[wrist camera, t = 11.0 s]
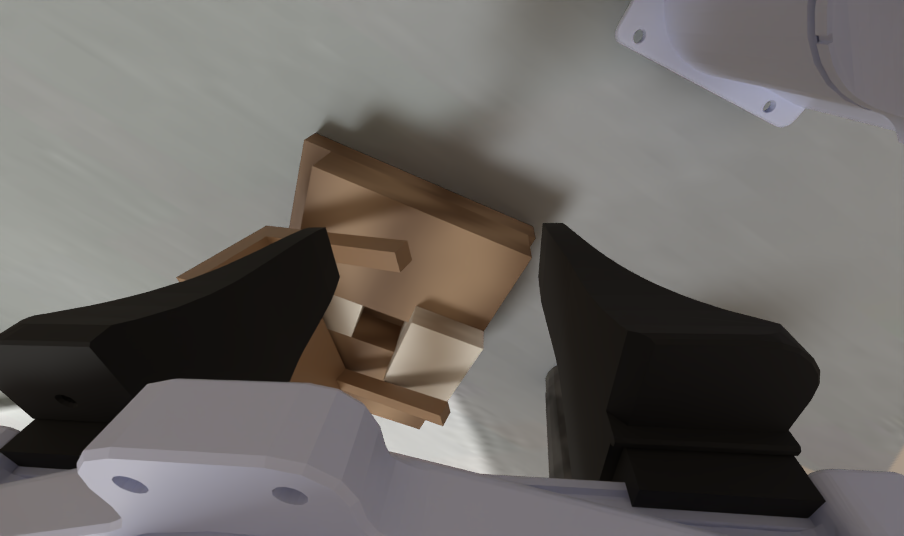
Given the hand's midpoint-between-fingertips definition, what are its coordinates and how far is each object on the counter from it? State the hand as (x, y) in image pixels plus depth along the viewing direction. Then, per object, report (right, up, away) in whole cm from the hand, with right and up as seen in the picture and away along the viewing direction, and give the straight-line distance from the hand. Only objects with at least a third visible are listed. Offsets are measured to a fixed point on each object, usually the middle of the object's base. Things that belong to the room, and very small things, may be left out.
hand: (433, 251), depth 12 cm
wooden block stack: (-4, -2, +14) cm, 15 cm away
